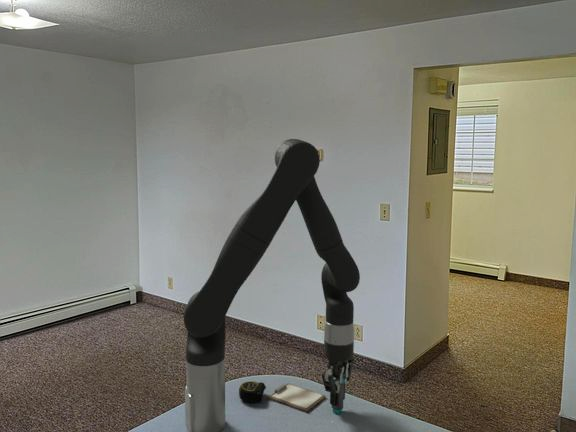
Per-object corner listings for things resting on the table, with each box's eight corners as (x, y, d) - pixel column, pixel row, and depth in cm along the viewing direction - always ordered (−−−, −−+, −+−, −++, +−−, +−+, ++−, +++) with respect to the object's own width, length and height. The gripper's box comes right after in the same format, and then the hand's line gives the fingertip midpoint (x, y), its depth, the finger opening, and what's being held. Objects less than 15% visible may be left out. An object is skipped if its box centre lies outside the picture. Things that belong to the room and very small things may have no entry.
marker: (334, 415, 126) (335, 381, 125) (329, 409, 129) (329, 376, 128) (345, 413, 128) (346, 379, 126) (339, 407, 130) (340, 374, 129)
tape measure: (261, 406, 131) (261, 393, 130) (236, 404, 132) (236, 391, 131) (266, 393, 138) (266, 381, 137) (242, 391, 139) (242, 379, 138)
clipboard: (268, 399, 134) (268, 393, 134) (288, 385, 142) (288, 380, 142) (307, 412, 128) (307, 406, 127) (325, 397, 135) (325, 392, 135)
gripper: (339, 350, 118) (338, 418, 120) (364, 332, 130) (362, 394, 132) (312, 343, 122) (311, 409, 124) (338, 327, 134) (336, 387, 136)
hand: (337, 401), depth 128 cm, fingers closed on marker, 3 cm apart
